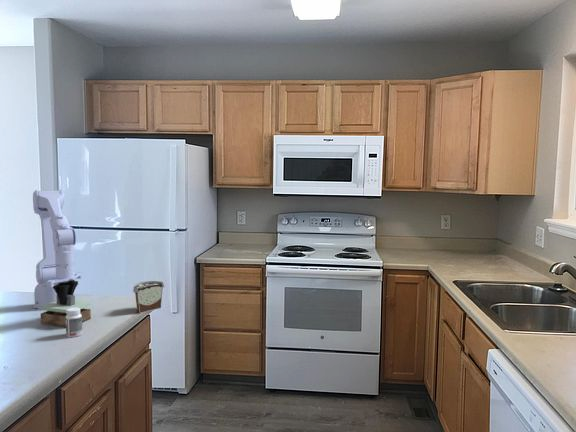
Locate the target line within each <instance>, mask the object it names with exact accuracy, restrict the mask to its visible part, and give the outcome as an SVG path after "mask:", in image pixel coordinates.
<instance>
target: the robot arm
mask: <svg viewBox="0 0 576 432" xmlns="http://www.w3.org/2000/svg"><path fill="white" fill-rule="evenodd" d="M64 193H65V192H63V190H61V189H59V190H34V191H33V193H32V203H33V204H32V205H33V211H34V213H35V214H36V215H39V219H40V225H41V238H42V250H43V251H42V252H43V259H41V260H39V261H38V262H37V264H36V265H35V266H36V268H35V270H36V271H35V279H36V282H37V285H36V286H35V287H34V295H33V296H34V306H33V307H32V308H33V309H39V306H42V305H45V304H48V303H51V302H54V301H57V296H58V299H59V302H60V304H64V305H65V304H66V303H67V295H74V294H75V290H76V289H77V286H78V285H79V281H78V280H81V279H83V272H79V271H78V272H75V255H74V250H75V249H74V248H75V247H74V246H75V245H76V242H77V239H76V238H77V235H76V231H75V229H74V227H72V226H70V223H69V221H68V218H67V216H66V215H64V214H63V212H62V210H63V207H64V205H65V194H64Z"/></svg>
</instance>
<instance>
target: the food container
mask: <svg viewBox="0 0 576 432" xmlns="http://www.w3.org/2000/svg"><path fill="white" fill-rule="evenodd" d="M164 288H165V283H164V282H163V281H159V280H149V281H148V280H147V281H140V282H137V283H135V284H134V286H133V289H132V291H133V293H134V294H135V303H136V311H137V313H138V314H143V313H147V312H151V311H155V310H159V309H161V308H162V301H163V289H164Z"/></svg>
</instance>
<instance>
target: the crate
mask: <svg viewBox="0 0 576 432" xmlns="http://www.w3.org/2000/svg"><path fill="white" fill-rule="evenodd" d="M91 311H92V310H91V308H86V307H85V308H83V309H80V314H81V315H82V323H84V322H87V321H89V320H91V319H92V315H91ZM66 315H67V313H63V312H55V311H47V310H45V311H44V312H41V313H40V325H41V324H42V325H48V326H55V327H63V328H66Z"/></svg>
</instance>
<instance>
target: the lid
mask: <svg viewBox="0 0 576 432" xmlns="http://www.w3.org/2000/svg"><path fill="white" fill-rule="evenodd" d="M75 297H76V296H75V295H74V294H73V295H67V303H66V304H65V305H64V304H60V302H59V299H58V296H57V301H54V302H51V303H48V304H45V305H42V306H39V308H38V310H41V311H42V310H43V311H55V312H63V313H66V310H67V309H69V308H75V307H76V308H80V309H83V308H85V309H86V308H87V307H90V306H93V305H92V301H85V300H76V298H75Z"/></svg>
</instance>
